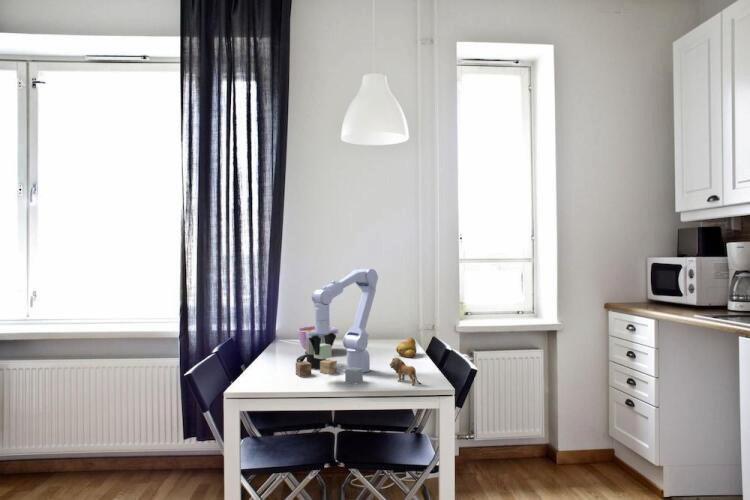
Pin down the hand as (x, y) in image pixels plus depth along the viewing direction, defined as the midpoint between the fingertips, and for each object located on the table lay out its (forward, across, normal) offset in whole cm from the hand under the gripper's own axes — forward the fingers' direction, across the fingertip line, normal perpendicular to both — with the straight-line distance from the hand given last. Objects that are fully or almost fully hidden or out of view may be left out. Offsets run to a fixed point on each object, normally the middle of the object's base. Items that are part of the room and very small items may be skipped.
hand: (322, 353), depth 208 cm
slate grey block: (+10, -7, +11) cm, 17 cm away
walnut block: (+10, +1, -12) cm, 16 cm away
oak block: (+10, -9, -8) cm, 16 cm away
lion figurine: (+11, -20, +26) cm, 35 cm away
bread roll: (+11, -57, -8) cm, 58 cm away
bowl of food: (+11, -32, -47) cm, 58 cm away
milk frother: (+11, -12, -24) cm, 29 cm away
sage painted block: (+2, 0, 0) cm, 2 cm away
